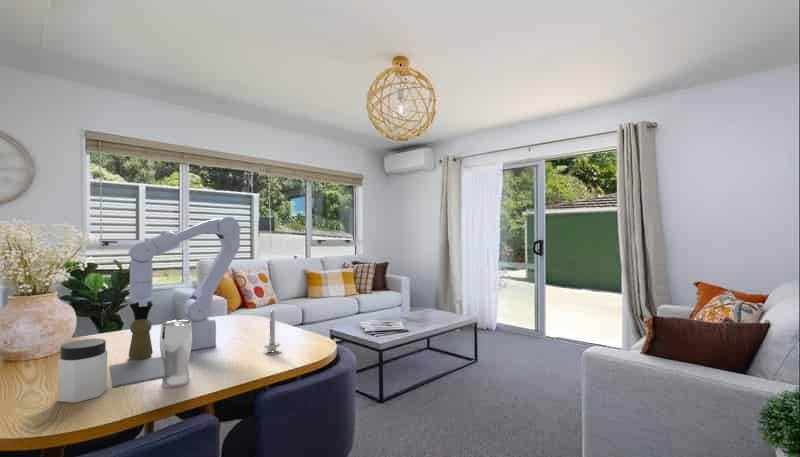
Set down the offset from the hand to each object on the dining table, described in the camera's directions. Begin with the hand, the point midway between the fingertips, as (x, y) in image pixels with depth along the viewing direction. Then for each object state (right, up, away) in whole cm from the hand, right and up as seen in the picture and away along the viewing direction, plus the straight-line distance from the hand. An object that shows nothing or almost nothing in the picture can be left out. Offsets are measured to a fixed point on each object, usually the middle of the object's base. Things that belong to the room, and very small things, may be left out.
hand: (140, 326), depth 116 cm
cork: (0, -8, 0) cm, 8 cm away
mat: (+9, -9, -11) cm, 17 cm away
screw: (+38, -9, +5) cm, 39 cm away
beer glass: (+22, -9, -20) cm, 31 cm away
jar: (+5, -9, -27) cm, 29 cm away
